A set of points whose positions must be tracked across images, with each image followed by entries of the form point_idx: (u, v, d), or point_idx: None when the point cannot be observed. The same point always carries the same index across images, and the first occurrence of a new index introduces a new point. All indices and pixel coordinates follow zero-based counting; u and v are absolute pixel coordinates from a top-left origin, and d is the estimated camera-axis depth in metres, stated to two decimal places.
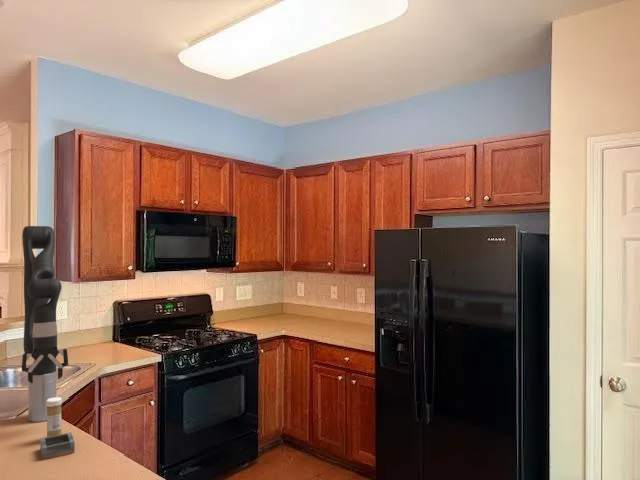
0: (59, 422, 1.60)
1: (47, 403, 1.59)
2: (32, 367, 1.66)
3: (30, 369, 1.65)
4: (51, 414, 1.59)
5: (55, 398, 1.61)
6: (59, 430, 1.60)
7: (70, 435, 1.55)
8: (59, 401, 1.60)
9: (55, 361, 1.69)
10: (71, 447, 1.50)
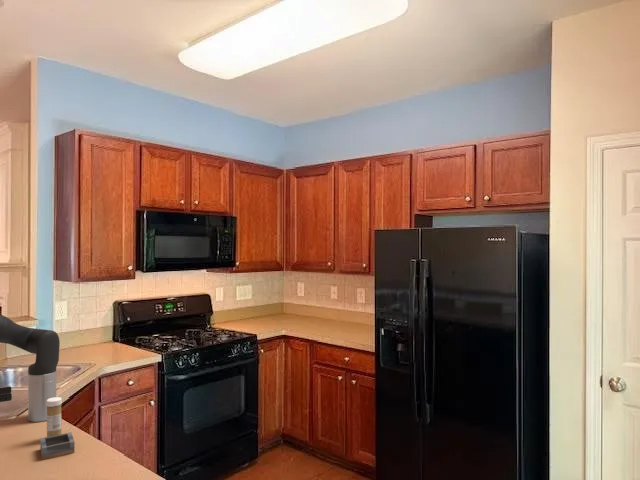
0: (59, 422, 1.60)
1: (47, 403, 1.59)
2: None
3: None
4: (51, 414, 1.59)
5: (55, 398, 1.61)
6: (59, 430, 1.60)
7: (70, 435, 1.55)
8: (59, 401, 1.60)
9: None
10: (71, 447, 1.50)
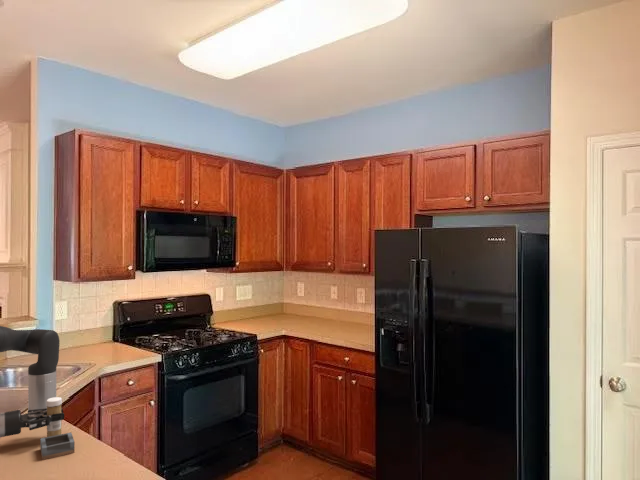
0: (59, 422, 1.60)
1: (47, 403, 1.59)
2: None
3: None
4: (51, 414, 1.59)
5: (55, 398, 1.61)
6: (59, 430, 1.60)
7: (70, 435, 1.55)
8: (59, 401, 1.60)
9: None
10: (71, 447, 1.50)
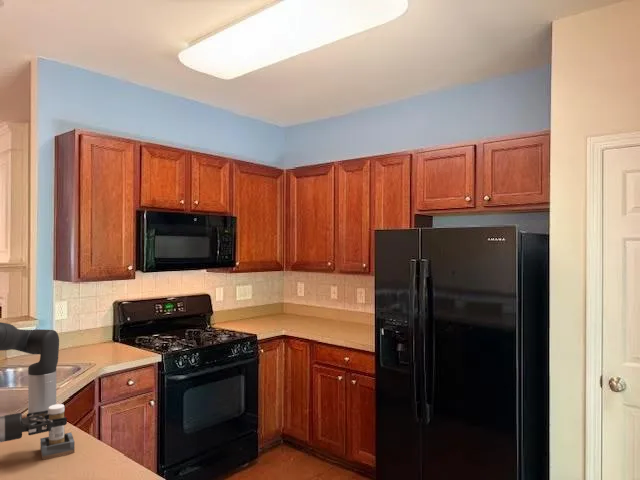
0: (62, 431, 1.50)
1: (49, 411, 1.49)
2: None
3: None
4: None
5: (57, 405, 1.51)
6: (62, 439, 1.51)
7: (70, 435, 1.55)
8: (62, 408, 1.50)
9: None
10: (71, 447, 1.50)
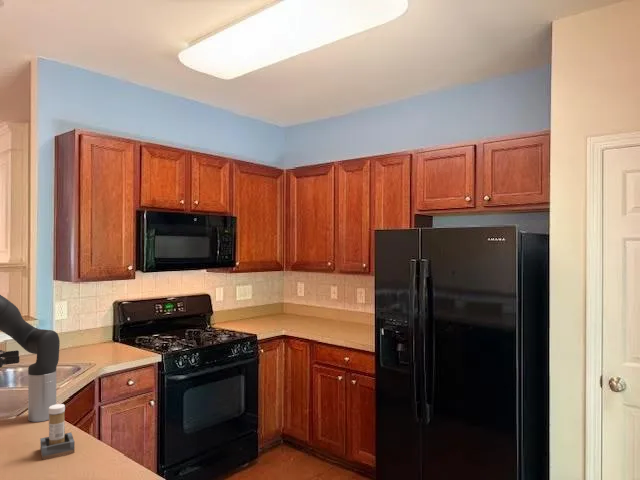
0: (62, 431, 1.50)
1: (49, 410, 1.49)
2: None
3: None
4: (54, 422, 1.49)
5: (58, 405, 1.52)
6: (62, 439, 1.51)
7: (70, 435, 1.55)
8: (62, 408, 1.50)
9: None
10: (71, 447, 1.50)
